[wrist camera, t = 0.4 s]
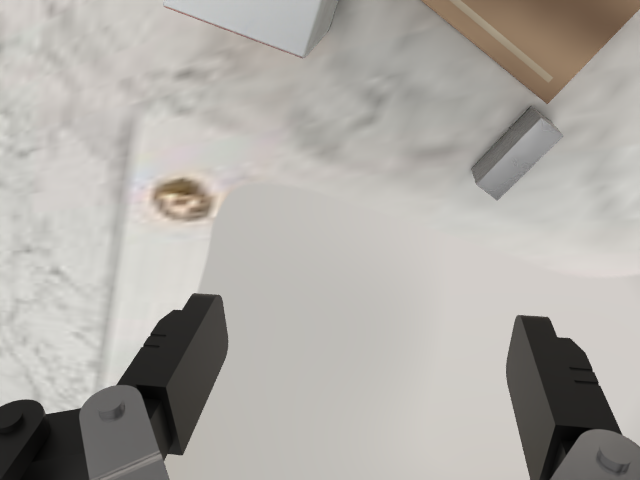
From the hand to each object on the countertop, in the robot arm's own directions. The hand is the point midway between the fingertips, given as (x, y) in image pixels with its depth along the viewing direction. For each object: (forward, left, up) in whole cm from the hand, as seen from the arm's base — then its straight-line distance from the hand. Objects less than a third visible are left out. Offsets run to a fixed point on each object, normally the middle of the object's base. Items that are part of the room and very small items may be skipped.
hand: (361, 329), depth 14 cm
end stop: (-3, +10, -26) cm, 28 cm away
